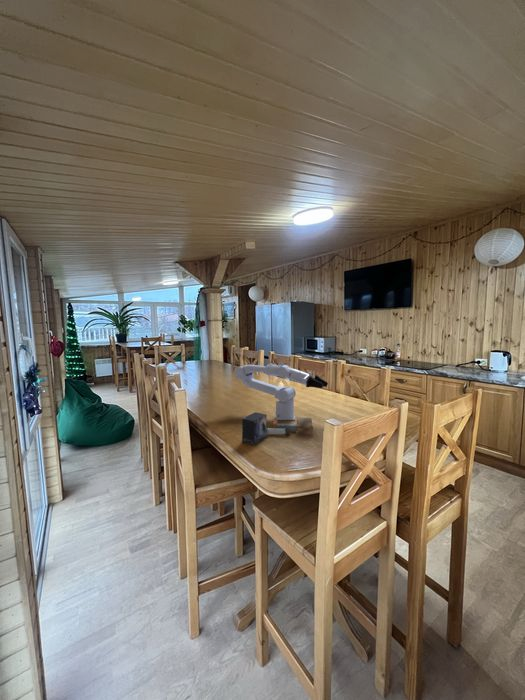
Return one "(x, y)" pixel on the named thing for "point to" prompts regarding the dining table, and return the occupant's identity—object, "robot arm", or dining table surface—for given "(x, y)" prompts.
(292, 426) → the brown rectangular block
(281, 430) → the bar
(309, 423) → the block
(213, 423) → the dining table surface
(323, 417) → the dining table surface
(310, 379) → the robot arm
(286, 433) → the keeper post
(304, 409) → the dining table surface
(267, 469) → the dining table surface
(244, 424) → the small box
